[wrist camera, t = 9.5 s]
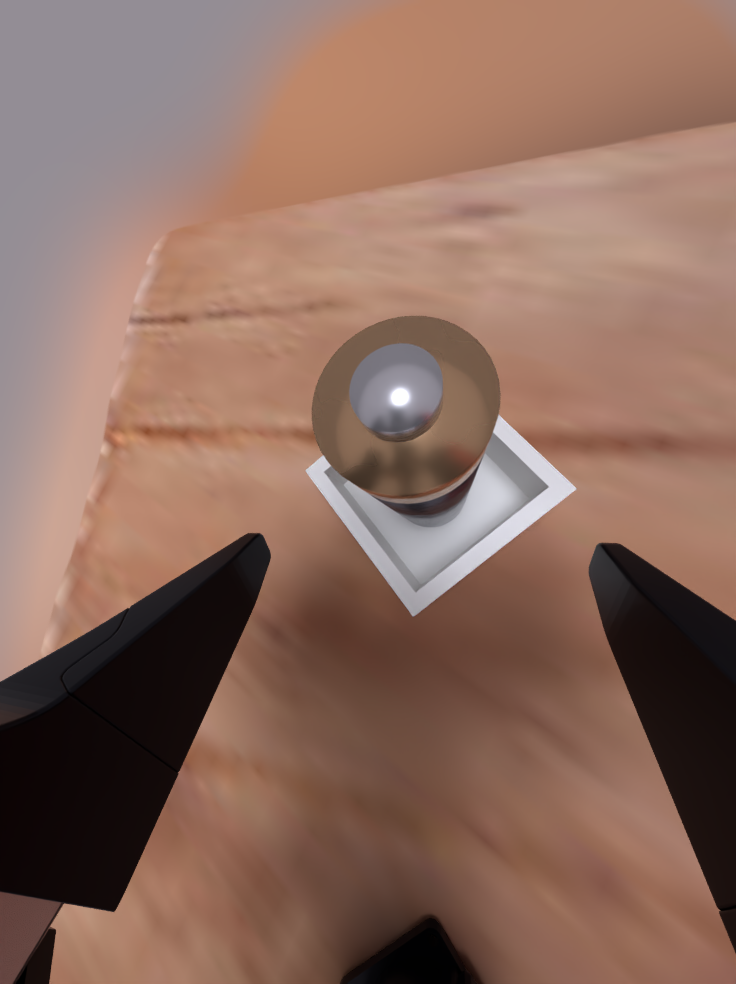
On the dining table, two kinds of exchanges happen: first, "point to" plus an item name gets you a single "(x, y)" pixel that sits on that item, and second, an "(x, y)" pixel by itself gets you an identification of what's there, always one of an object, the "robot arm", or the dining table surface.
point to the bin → (461, 542)
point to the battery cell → (409, 414)
